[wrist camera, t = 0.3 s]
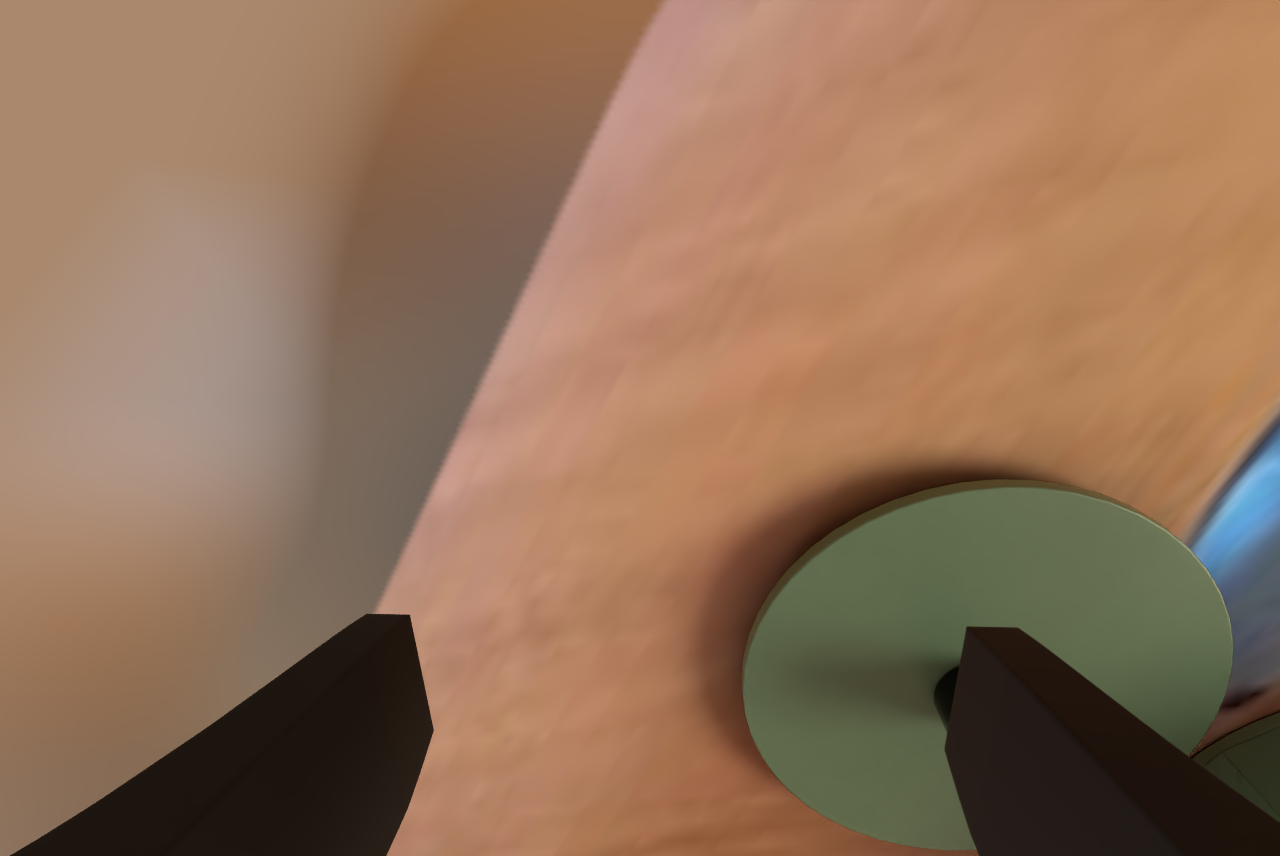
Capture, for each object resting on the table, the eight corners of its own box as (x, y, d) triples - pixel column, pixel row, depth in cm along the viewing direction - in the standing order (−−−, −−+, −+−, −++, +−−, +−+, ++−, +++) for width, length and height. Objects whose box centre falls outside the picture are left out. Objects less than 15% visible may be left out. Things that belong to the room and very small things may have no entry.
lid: (1214, 782, 21) (1353, 946, 16) (800, 846, 23) (823, 1003, 19) (1192, 407, 16) (1374, 494, 12) (684, 539, 19) (681, 650, 14)
